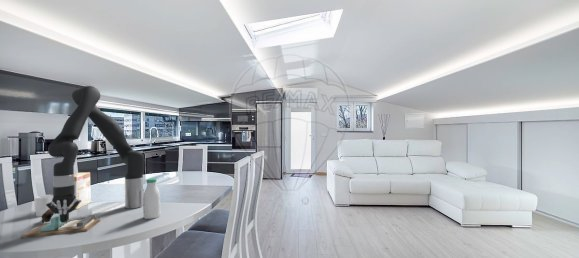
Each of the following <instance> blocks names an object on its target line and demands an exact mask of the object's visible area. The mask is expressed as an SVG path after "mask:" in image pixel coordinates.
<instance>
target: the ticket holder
mask: <svg viewBox="0 0 579 258" xmlns="http://www.w3.org/2000/svg"><path fill="white" fill-rule="evenodd" d="M99 222H101V219H100V218H99V219H96V213H95V214H89V215H87V216H86V217H84V218H83V219H75V220H68V221H67V222H65V224H63V225H61V226H60V227H58V228H56V229H55V230H51V231H42V232H40V229H41V228H42V227H44V226H46V225H48V224H49V223H47V224H46V223H44V224H40V225H37V227H35V228H33V229H31V230H29V231H27V232H25V233H23V234H22V235H20V238H21V239H24V238H25V237H27V238H35V237H45V236H52V235H54V236H55V235H62V234H72V233H80V232H81V233H82V232H88V231H90V229H92V228H93V227H94V226H96V225H97V224H98V223H99ZM23 237H24V238H23ZM25 239H26V238H25Z"/></svg>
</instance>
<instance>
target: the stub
mask: <svg viewBox="0 0 579 258" xmlns="http://www.w3.org/2000/svg"><path fill="white" fill-rule="evenodd" d="M47 224H48V225H46V226H44V227H42V228H41V229H40V232H42V231H51V230H55V229H56V228H58V227H60V226H61V225H63V224H65V222H61V221H60V214H57V215H55V216H54V217H53V216H52V217H51V219H50V222H49V223H47Z"/></svg>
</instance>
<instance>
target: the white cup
mask: <svg viewBox="0 0 579 258" xmlns="http://www.w3.org/2000/svg"><path fill="white" fill-rule="evenodd" d="M33 199H34V210H35V217H42V215H43V214H44V213H45V212H46V211H47V210H48V209H49V208H48V207H47V206H46V204H48V203H50V202H51V201H52V199H53V193H51V194H50V193H49V194H42V195H38V196H35V197H34V198H33Z"/></svg>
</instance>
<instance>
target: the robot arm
mask: <svg viewBox="0 0 579 258" xmlns="http://www.w3.org/2000/svg"><path fill="white" fill-rule="evenodd" d="M71 98H72V100H73V101H74V103H75V104H76V105H77V107H76V108H75V110H74V111H73V112H72V113H71V114H70V115H69V117H68V118H67V119H66V120H65V123H64V125H63V127H62V128H61V131H60V133H58V134H57V135H56V137H55V138H54V139H53V140H52V141H51V142H50V144H49V145H48V154H49V156H50V157H54V158H62V161H60V162H56V163H54V164H53V177H52V178H53V179H52V195H53V199H52V201H51V202H50V203H48V204H46V206H47V207H48V208H49V209H51V210H52V211H53V212H54V215H56V214H57V215H60V221H61V222H68V221H70V220H69V219H70V213H72V212H74V211H75V210H74V209H75V208H76V207H77V206H78V205H79V204H80V202H81V200H77V199H76V197H75V195H74V194H75V180H74V174H75V172H74V171H75V170H74V168H75V167H74V166H75V163H76V159H77V156H78V154H79V147H78V145H77V144H76V143H75V142H73V141H75V140H78V139H79V137H80V135H81V133H82V131H83V128H84V125H85V124H86V121H88V118H89V119H90V121H92V123H93V124H94V126H96V127H97V129H98V130H99V132H100V133H101V134H102V136H103V137H104V138H105V139H106V140H107V141H108V143H109V144H110V145H111V146H112V147H113V148H114V150H115V151H116V152H117V154H118V155H119V157H120V158H121V159H120V160H122V162H123V164H125V165H126V166H127V171H126V173H125V174H124V197H125V198H124V203H125V204H124V207H125V209H137V208H142V207H143V198H144V192H145V188H144V172H145V156H144V154H143V153H142V152H141V151H137V150H134V149H133V148H132V147H131V146H130V144H129V143H128V141H127V138H126V135H125V133H124V130H123V129H122V127H121V126H120V124H119V123H118V122H117V121H116V120H115V119H114V118H113V117H111V116H109V115H107V114H106V113H105V112H103V111H102V110H100V109H99V108H98V106H97V104H98V102H99V101H100V99H101V93H100V90H99V89H98V88H97V87H95V86H94V85H92V86H91V85H86V86H83V87H80V88H78V89H75V90H73V91H72V94H71ZM73 201H74V202H73ZM72 202H73V204H74V205H73V206H72V207H71V208H70V205H71V204H72ZM57 206H58V207H57Z"/></svg>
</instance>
